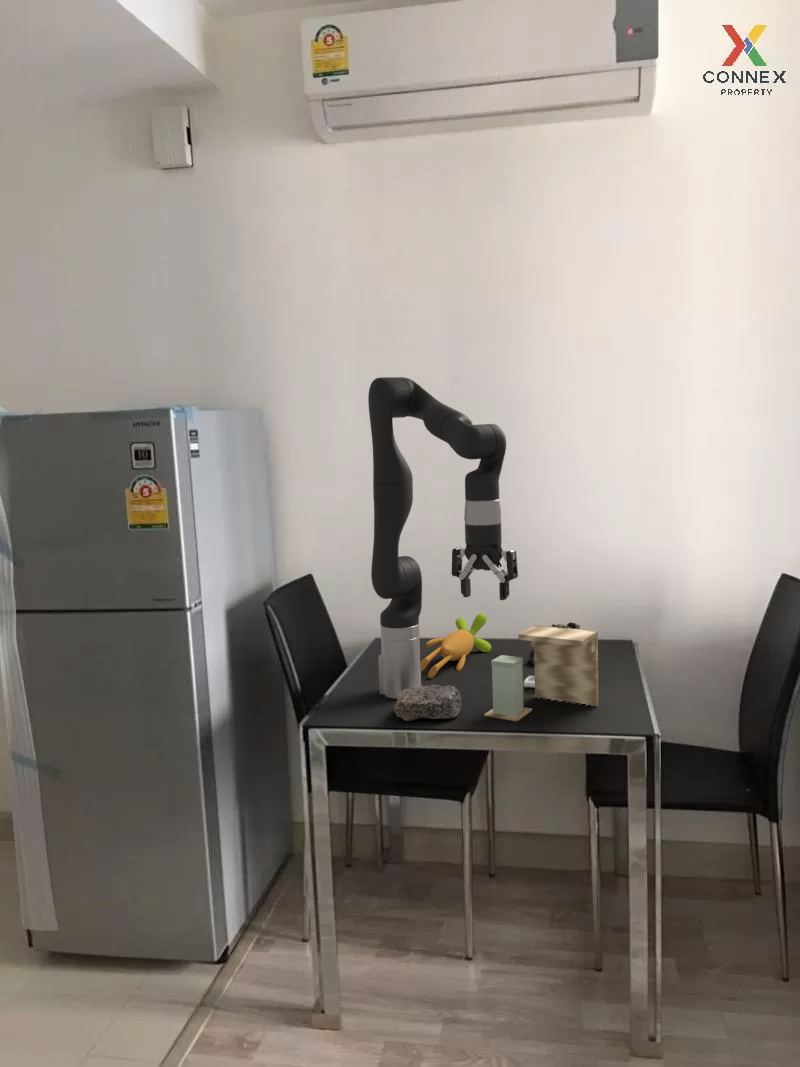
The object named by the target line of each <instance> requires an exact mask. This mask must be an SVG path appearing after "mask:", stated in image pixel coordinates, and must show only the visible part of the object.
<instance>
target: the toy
mask: <svg viewBox="0 0 800 1067" xmlns="http://www.w3.org/2000/svg"><path fill="white" fill-rule="evenodd" d="M487 619H488V618H487V615H486V614H485V613H482V612H479V613H478V614H476V616H475V618H474V619H473V622H472V624H471V626H470V629H468V624H467V621H466V619H465V618H463V617H458V618H457V619H456V620H455V625H456V628H457V629H456V630H454V631H452V632H450V633H449V634H448V635H446V636H445V637H444V638H443V637H437V638H432V639H430V640H428V641H426V644H425V646H426V647H427V648H431V647H433V646H435V645H438V644H440V646H439V647H438V648H436V649H435V650H434V651H432V652H431V653H430V654H428V655H427V656H426V657H424V658H423V659H422V660H420V666H421V672H423V671H424V670H425V669H426V668H427V666H428V665H429V663H430V661H432V660H433V659H434V658H435V657H436V656H438V654H440V655H441V657H442V659H441V660H440V661H438V663H436V664H434V665H433V666H432V667H431V668H430V669H429V670H428V672H427V673H428V674H427V678H429V679H433V678H434V677H435V676H436V675H437V673H438V671H439V670H440V669H441V668H442V667H443V666H444V665H445V664H447V663H448V662H449V661H452V662H453V661H458V662H457V664H456V667H455V668H456V669H455V670H456V671H457V672H458V671H459V672H460V671H461V670H462V669H463V668H464V666H465V663H466V660H467V659H466V657H467V656H468V655H469V654H470V653H471V651H472V650H473V648H474V646H475V647H476V648H477V649H478V650H479V651H480V652H481V653H484V652H487V653H489V652H490V651H491V650H492V645H491V643H489V642H488V641H487V640H485V639H483V638H479V637H476V636H475V635H476V634H477V633H478V632H479V631H480V630H481V629H482V628H483V627H484V626H485V624H486V623H487ZM468 630H469V631H468Z"/></svg>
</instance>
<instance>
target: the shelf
mask: <svg viewBox="0 0 800 1067" xmlns="http://www.w3.org/2000/svg"><path fill="white" fill-rule="evenodd" d="M598 632H599V631H597V630H589V629H581V628H580V629H571V628H561V627H552V626H550V625H549V626H548V625H538V624H534V625H533V626H531V627H529V628H528V629H525V630H523V631H521V632H520V633H518V636H517V638H518V640H520V641H528V642H529V641H530V647H533V649H534V664H533V665H534V698H535V697H538V698H537V699H540V698H543V699H542V700H547V699H551V700H550V701H554V700H559V701H558V702H561V701H567V702H566V703H568V702H575V703H581V704H586V705H585V706H588V705H591V706H590V707H595V706H596V708H597V707H599V640H598V639H599V637H598V636H599V635H598ZM544 698H545V699H544ZM575 703H574V704H575ZM581 704H580V705H581Z"/></svg>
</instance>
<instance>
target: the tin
mask: <svg viewBox="0 0 800 1067" xmlns="http://www.w3.org/2000/svg"><path fill="white" fill-rule="evenodd" d="M490 662H491V664H490V665H491V678H492V679H491V681H492V709H493V713H495V714H501V715H507V716H513V717H514V716H515V715H517V714H518V713H520V712H521V711H522V710H523V707H524V680H523V674H524V673H523V672H524V671H523V662H524V657H522V656H521V657H520V656H514V655H513V656H512V655H506V654H505V655H503V654H501V655H499V656H497V657H496V658H493V659H492V660H490Z"/></svg>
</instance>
